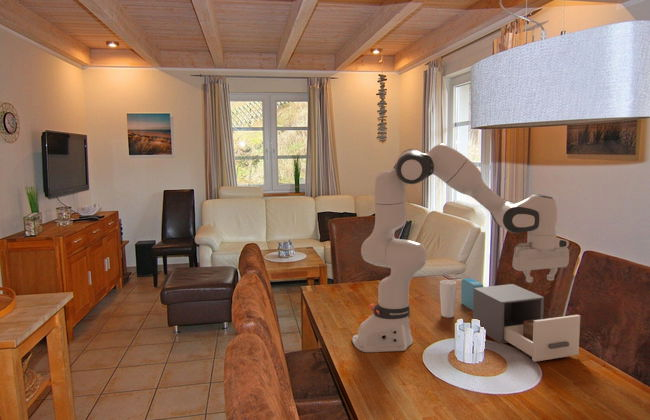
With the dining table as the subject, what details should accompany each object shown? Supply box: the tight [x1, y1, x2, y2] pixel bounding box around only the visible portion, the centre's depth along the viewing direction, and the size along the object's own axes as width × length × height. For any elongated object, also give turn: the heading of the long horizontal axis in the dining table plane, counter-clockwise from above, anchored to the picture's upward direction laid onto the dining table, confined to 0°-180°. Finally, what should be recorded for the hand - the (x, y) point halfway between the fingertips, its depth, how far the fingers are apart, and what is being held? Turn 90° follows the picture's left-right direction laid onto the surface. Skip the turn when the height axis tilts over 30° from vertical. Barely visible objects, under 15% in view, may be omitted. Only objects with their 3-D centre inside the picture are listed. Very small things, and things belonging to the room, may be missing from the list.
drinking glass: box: [439, 279, 457, 319], centre depth 194 cm, size 7×7×15 cm
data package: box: [460, 277, 484, 312], centre depth 204 cm, size 12×4×12 cm, turn 10°
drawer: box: [504, 314, 581, 362], centre depth 158 cm, size 17×19×14 cm
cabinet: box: [472, 283, 545, 344], centre depth 176 cm, size 18×18×16 cm
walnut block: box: [523, 320, 534, 342], centre depth 159 cm, size 4×10×7 cm, turn 14°
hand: (539, 281), depth 157 cm, fingers open, 7 cm apart
